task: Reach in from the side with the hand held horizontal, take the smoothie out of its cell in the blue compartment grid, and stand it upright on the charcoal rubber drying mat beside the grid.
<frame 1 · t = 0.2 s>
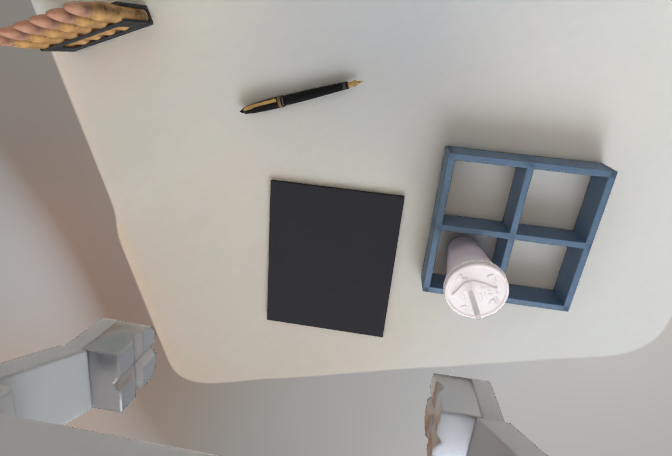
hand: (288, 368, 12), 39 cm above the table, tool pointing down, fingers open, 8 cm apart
smoothie: (462, 250, 52), resting in blue compartment grid
fountain pen: (300, 96, 47), on the table
blue compartment grid: (504, 224, 50), on the table
ammunition clip: (109, 29, 47), on the table
drying mat: (330, 261, 55), on the table
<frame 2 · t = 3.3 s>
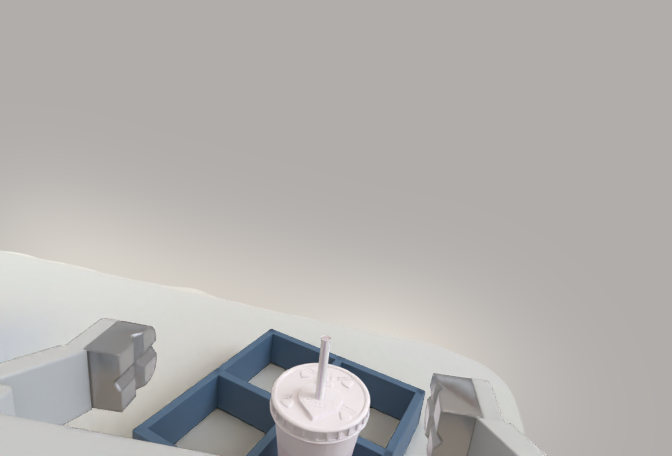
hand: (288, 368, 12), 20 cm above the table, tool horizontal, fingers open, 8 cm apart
blue compartment grid: (291, 442, 35), on the table
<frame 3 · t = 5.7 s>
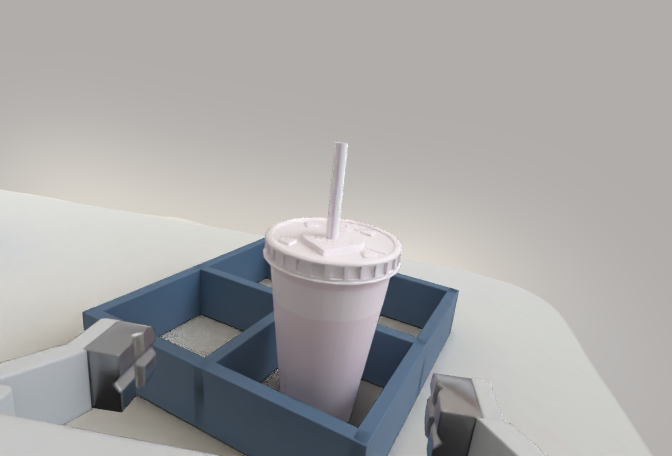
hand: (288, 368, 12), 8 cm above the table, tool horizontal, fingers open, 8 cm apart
smoothie: (315, 411, 23), resting in blue compartment grid
blue compartment grid: (293, 347, 28), on the table
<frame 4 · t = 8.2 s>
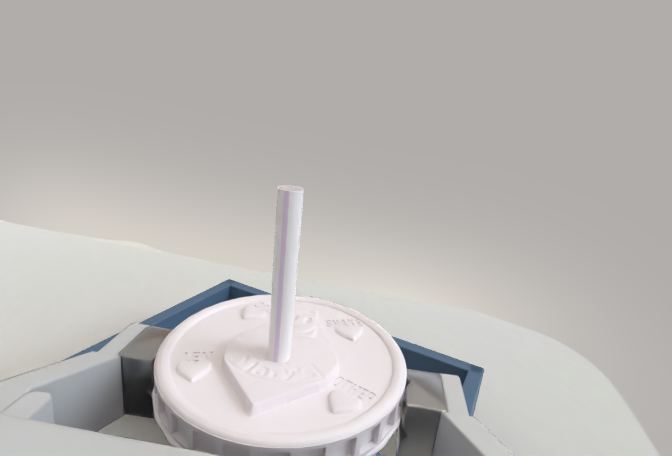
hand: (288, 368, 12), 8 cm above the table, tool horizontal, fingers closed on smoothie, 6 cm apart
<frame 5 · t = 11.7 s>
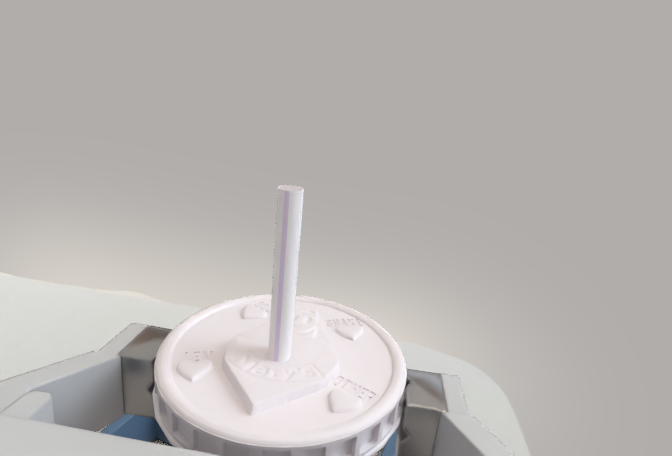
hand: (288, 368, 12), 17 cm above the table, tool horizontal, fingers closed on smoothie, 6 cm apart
when the fingers open (9 cm above the table, at t = 15.7 s): smoothie stays where it is, resting on drying mat.
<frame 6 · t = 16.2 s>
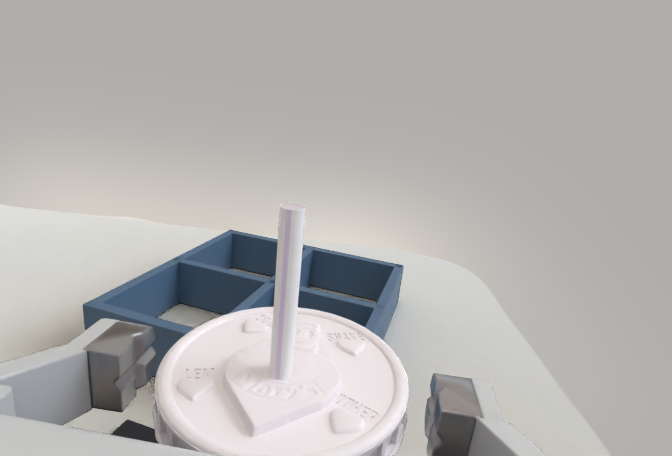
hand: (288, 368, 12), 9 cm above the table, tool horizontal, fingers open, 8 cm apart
blue compartment grid: (269, 323, 32), on the table
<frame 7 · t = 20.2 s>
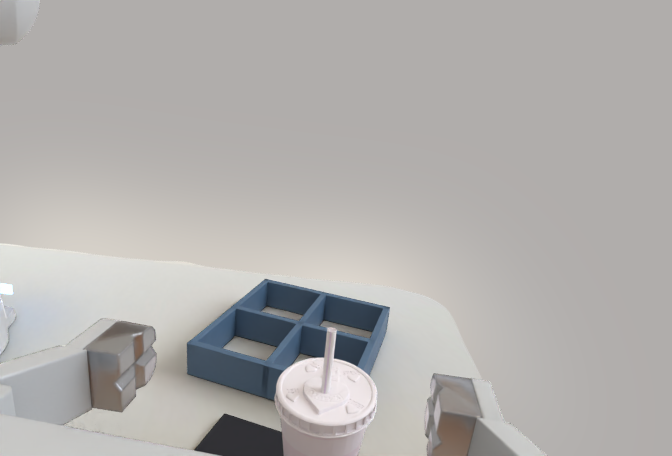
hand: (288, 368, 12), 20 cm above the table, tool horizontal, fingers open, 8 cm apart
blue compartment grid: (298, 350, 47), on the table
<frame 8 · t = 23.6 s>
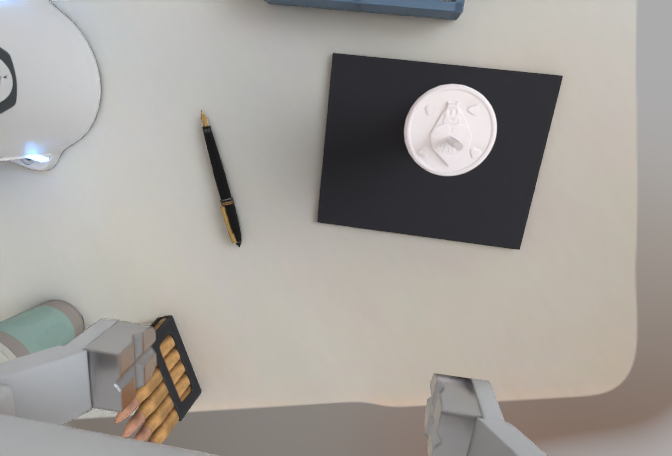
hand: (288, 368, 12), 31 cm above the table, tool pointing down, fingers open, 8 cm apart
coffee cup: (63, 320, 52), on the table
smoothie: (436, 123, 39), resting on drying mat
fountain pen: (224, 179, 44), on the table
ammunition clip: (181, 355, 51), on the table
drying mat: (429, 154, 40), on the table
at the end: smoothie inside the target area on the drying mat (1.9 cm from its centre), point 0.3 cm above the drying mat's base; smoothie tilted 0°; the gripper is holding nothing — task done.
